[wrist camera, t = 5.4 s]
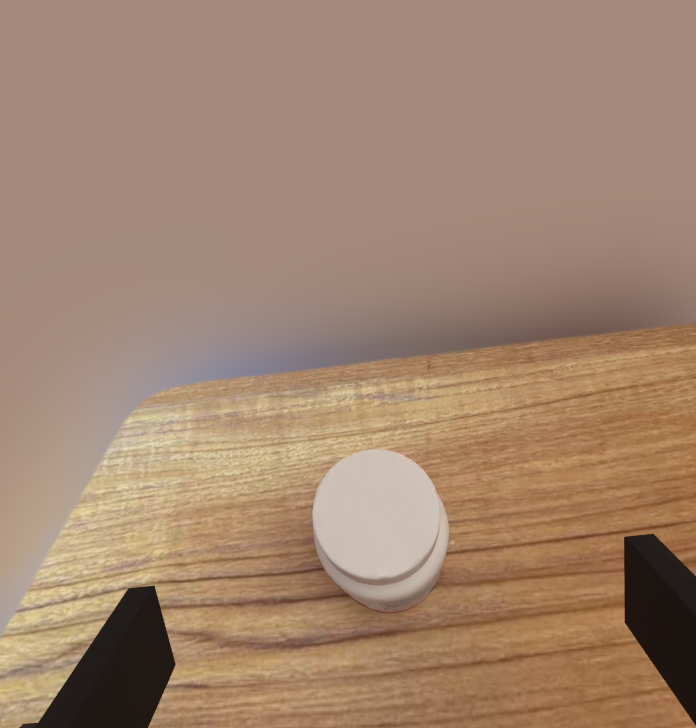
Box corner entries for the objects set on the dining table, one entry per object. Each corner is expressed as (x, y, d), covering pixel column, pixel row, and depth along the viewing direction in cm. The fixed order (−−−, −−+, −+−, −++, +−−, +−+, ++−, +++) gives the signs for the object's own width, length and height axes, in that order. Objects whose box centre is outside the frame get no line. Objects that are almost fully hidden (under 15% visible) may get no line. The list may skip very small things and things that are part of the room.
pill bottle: (316, 537, 23) (273, 483, 16) (402, 484, 24) (397, 410, 17) (370, 638, 21) (346, 628, 14) (463, 575, 22) (487, 534, 14)
